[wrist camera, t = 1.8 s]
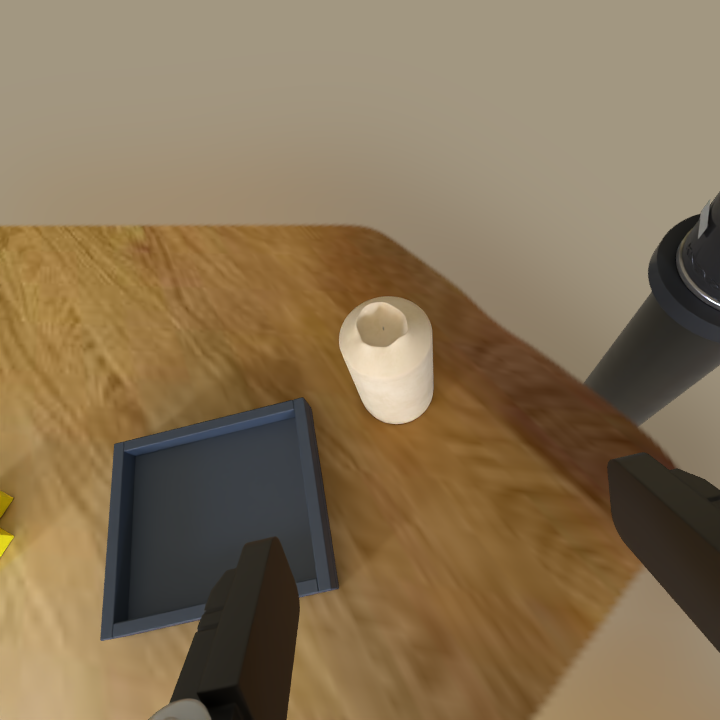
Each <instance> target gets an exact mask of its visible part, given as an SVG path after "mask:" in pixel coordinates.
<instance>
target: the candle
mask: <svg viewBox="0 0 720 720" xmlns="http://www.w3.org/2000/svg"><path fill="white" fill-rule="evenodd" d="M339 345H340V350H341V352H342V355H343V358H344V360H345V362H346V365H347V367H348V369H349V372H350V374H351V376H352V379H353V381H354V383H355V386H356V388H357V390H358V393H359V395H360V397H361V400H362V402H363V404H364V406H365V407H366V409H367V410H368V411H369V412H370V413H371V414H372V415H373V416H374V417H375V418H377V419H379V420H381V421H383V422H386V423H391V424H402V423H407V422H410V421H412V420H414V419H416V418H418V417H419V416H420V415H421V414H422V413H424V411H425V410H426V409H427V407H428V406H429V404H430V402H431V399H432V396H433V343H432V327H431V324H430V321H429V319H428V317H427V315H426V314H425V313H424V311H423V310H422V309H421V308H420V307H418V306H417V305H416V304H414V303H413V302H411V301H408V300H406V299H403V298H399V297H391V296H386V297H378V298H374V299H371V300H368V301H366V302H364V303H362V304H360V305H359V306H357V307H356V308H355V309H354V310H353V311H352V312H351V313H350V314H349V315H348V316H347V318H346V319H345V321H344V322H343V324H342V327H341V330H340V334H339Z"/></svg>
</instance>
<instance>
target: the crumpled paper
mask: <svg viewBox="0 0 720 720" xmlns="http://www.w3.org/2000/svg"><path fill="white" fill-rule="evenodd" d="M13 499H14V498H13V497H11V496H9V495H7V494H6V493H4V492H2V491H0V518H1V516H2V515H3V513H4V512H5V510H6V509H7V508H8V506H9V505H10V503H11V502H12V500H13ZM13 537H14V536H13V535H11V534H10V533H8V532H6V531H5V530H3V529H1V528H0V557H1V555H2V554H3V552H4V551H5V549H6V548H7V546H8V545H9V543H10V542H11V540H12V539H13Z"/></svg>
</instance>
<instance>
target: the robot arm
mask: <svg viewBox="0 0 720 720" xmlns="http://www.w3.org/2000/svg"><path fill="white" fill-rule="evenodd" d="M675 264H676V269H677V272H678V275H679V277H680V279H681V281H682V282H683V284H684V285H685V287H686V288H687V289H688V290H689V291H690V292H691V293H692V294H693V295H694V296H695V297H696V298H697V299H699V300H700V301H701V302H703V303H704V304H706V305H708V306H709V307H711V308H713V309H715V310H717V311H719V312H720V192H719V193H718V195H717V196H716V197H715V199H714V200H713V201H712V203H711V204H710V200H709V201H708V203H707V204H706V205H705V207H704V208H703V210H702V211H701V216H700V219H699V221H698V222H697V223H696V225H695V226H694V228H692V229H691V230H690V231H689V232H688V233H687V235H686V236H685V237H684V239H683V240H682V241H681V243H680V245H679V246H678V249H677V252H676V257H675ZM607 468H608V480H609V491H610V502H611V513H612V518H613V522H614V525H615V527H616V530H617V532H618V534H619V535H620V537H621V539H622V540H623V541H624V543H625V544H626V545H627V546H628V547H629V549H630V550H631V551H632V552H633V553H634V554H635V556H636V557H637V558H638V559H639V560H640V561H641V562H642V564H643V565H644V566H645V567H646V568H647V569H648V571H649V572H650V573H651V574H652V575H653V576H654V577H655V579H656V580H657V581H658V582H659V583H660V584H661V585H662V587H663V588H664V589H665V590H666V591H667V592H668V594H669V595H670V596H671V597H672V598H673V599H674V601H675V602H676V603H677V604H678V605H679V606H680V607H681V609H682V610H683V611H684V612H685V613H686V614H687V615H688V617H689V618H690V619H691V620H692V621H693V622H694V623H695V625H696V626H697V627H698V628H699V629H700V630H701V632H702V633H703V634H704V635H705V636H706V637H707V638H708V640H709V641H710V642H711V643H712V644H713V646H714V647H715V648H716V649H717V650H718V651H719V652H720V490H719V489H718V488H716V487H715V486H713V485H712V484H710V483H709V482H708V481H706V480H705V479H702V478H700V477H698V476H695V475H693V474H690V473H687V472H685V471H683V470H680V469H673V470H668V469H667V468H666V467H665V466H663V465H662V464H661V463H659V462H658V461H657V460H655V459H654V458H653V457H651V456H650V455H649V454H647V453H638V454H634V455H629V456H625V457H621V458H616V459H612V460H610V461H609V462H608V467H607ZM299 612H300V604H299V595H298V589H297V585H296V582H295V580H294V577H293V574H292V572H291V569H290V566H289V564H288V561H287V558H286V556H285V553H284V550H283V547H282V545H281V542H280V540H279V539H278V537H276V536H274V537H270V538H266V539H261V540H257V541H253V542H249V543H246V544H245V545H244V546H243V549H242V552H241V555H240V558H239V561H238V565H237V568H235V569H230V570H226V572H225V573H224V574H223V575H222V577H221V578H220V579H219V581H218V582H217V583H216V585H215V586H214V587H213V589H212V590H211V593H210V595H209V598H208V601H207V603H206V606H205V609H204V614H203V615H202V617H201V619H200V622H199V625H198V632H196V633H195V636H194V638H193V641H192V644H191V646H190V649H189V652H188V655H187V657H186V660H185V663H184V665H183V668H182V671H181V673H180V676H179V679H178V681H177V684H176V687H175V690H174V692H173V695H172V698H171V700H170V703H169V704H168V705H166V706H165V707H163V708H162V709H160V710H159V711H157V712H156V713H155V714H154V715H153V716H152V717H150V718H149V719H148V720H286V718H287V710H288V702H289V694H290V686H291V678H292V670H293V662H294V653H295V645H296V637H297V629H298V621H299Z"/></svg>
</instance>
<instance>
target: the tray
mask: <svg viewBox="0 0 720 720" xmlns="http://www.w3.org/2000/svg"><path fill="white" fill-rule="evenodd" d="M274 536H276V537H278V539H279V540H280V542H281V545H282V547H283V550H284V553H285V556H286V558H287V561H288V564H289V566H290V569H291V572H292V574H293V577H294V580H295V582H296V585H297V589H298V595H299V597H304V596H308V595H313V594H317V593H322V592H326V591H330V590H335V589H338V588H339V585H338V578H337V572H336V565H335V559H334V552H333V546H332V539H331V533H330V526H329V520H328V513H327V507H326V500H325V494H324V487H323V481H322V474H321V468H320V461H319V455H318V448H317V442H316V435H315V429H314V422H313V416H312V409H311V407H310V406H309V404H308V403H307V402H306V400H305V399H304V398H303V397H302V398H298V399H294V400H290V401H286V402H282V403H278V404H274V405H270V406H266V407H262V408H258V409H254V410H250V411H246V412H242V413H238V414H234V415H230V416H226V417H222V418H218V419H214V420H209V421H205V422H201V423H197V424H193V425H189V426H185V427H181V428H177V429H173V430H169V431H165V432H161V433H157V434H153V435H149V436H145V437H141V438H137V439H133V440H129V441H125V442H121V443H116V444H114V456H113V470H112V484H111V498H110V512H109V526H108V540H107V554H106V568H105V582H104V596H103V610H102V624H101V638H100V640H101V641H104V640H109V639H115V638H120V637H125V636H130V635H134V634H139V633H143V632H147V631H152V630H156V629H161V628H165V627H170V626H174V625H179V624H183V623H188V622H192V621H197V620H200V619H201V617H202V615H203V614H204V609H205V606H206V603H207V601H208V598H209V595H210V593H211V590H212V589H213V587H214V586H215V585H216V583H217V582H218V581H219V579H220V578H221V577H222V575H223V574H224V573H225V572H226V570H230V569H235V568H237V565H238V561H239V558H240V555H241V552H242V549H243V546H244V545H245V544H246V543H249V542H253V541H257V540H261V539H266V538H270V537H274Z"/></svg>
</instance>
